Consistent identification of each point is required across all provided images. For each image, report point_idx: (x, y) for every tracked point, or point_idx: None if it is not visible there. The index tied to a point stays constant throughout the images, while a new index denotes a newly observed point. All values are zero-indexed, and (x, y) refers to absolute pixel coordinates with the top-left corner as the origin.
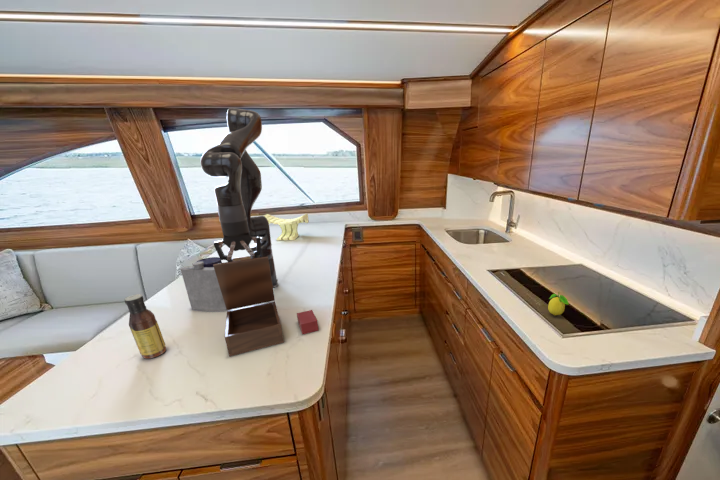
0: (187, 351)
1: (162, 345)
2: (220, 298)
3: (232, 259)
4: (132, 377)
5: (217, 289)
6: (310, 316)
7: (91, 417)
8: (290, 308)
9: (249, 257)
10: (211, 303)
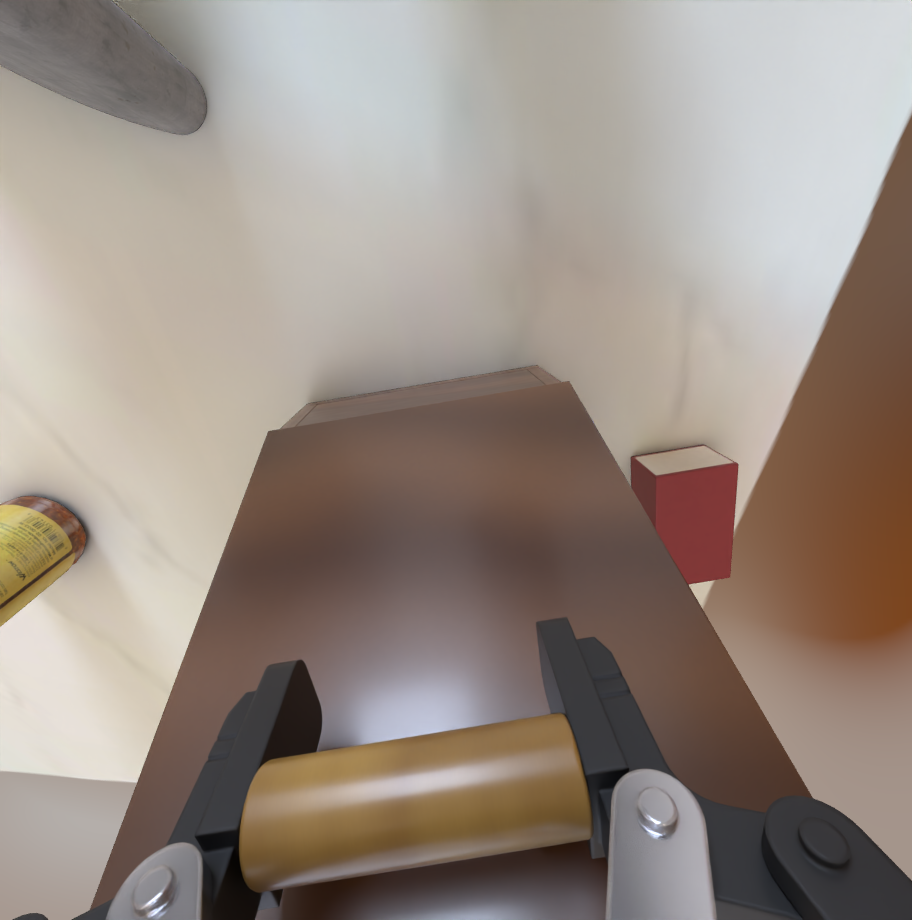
0: (185, 550)
1: (62, 558)
2: (105, 92)
3: (262, 890)
4: (73, 648)
5: (23, 46)
6: (712, 532)
7: (91, 765)
8: (612, 267)
9: (567, 837)
10: (45, 82)
